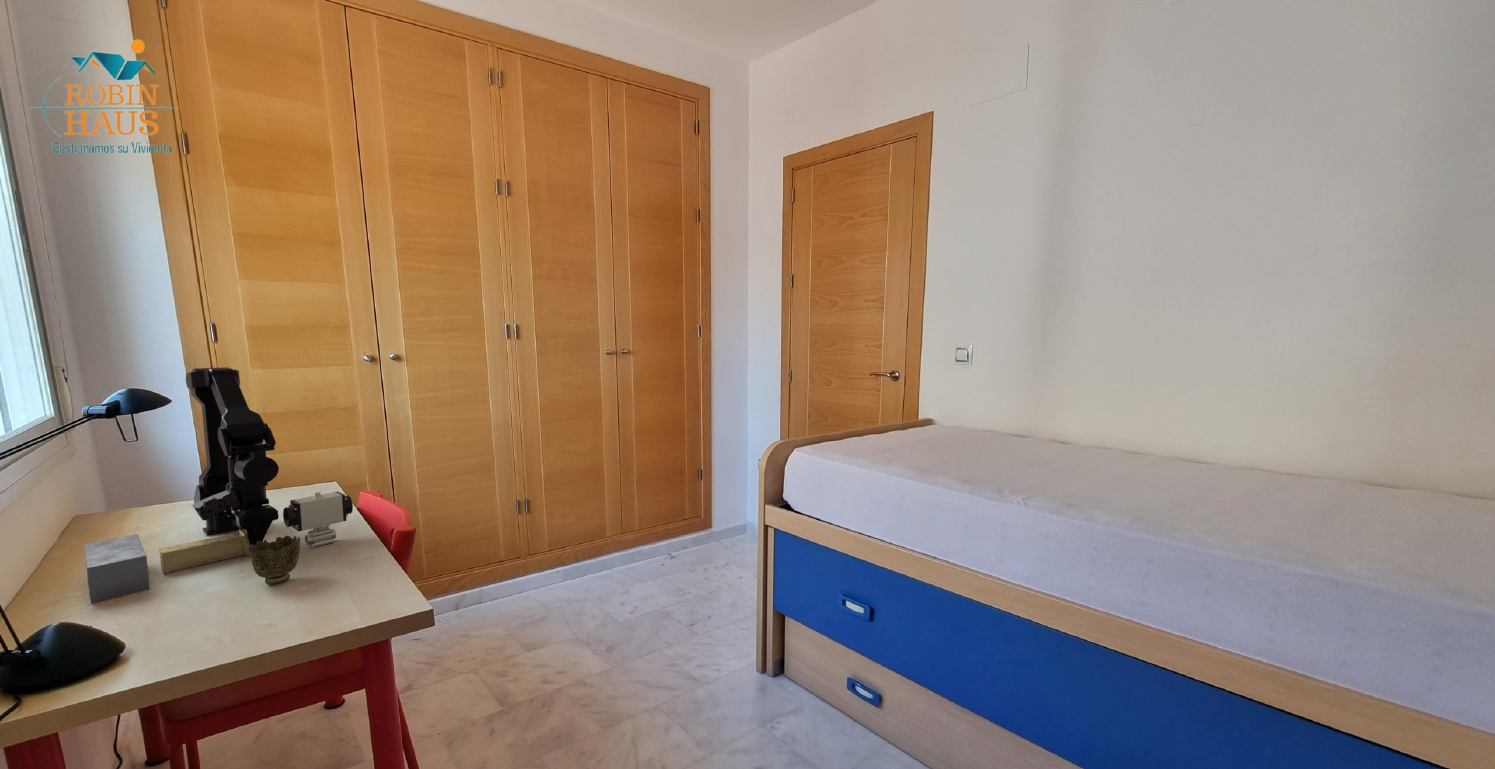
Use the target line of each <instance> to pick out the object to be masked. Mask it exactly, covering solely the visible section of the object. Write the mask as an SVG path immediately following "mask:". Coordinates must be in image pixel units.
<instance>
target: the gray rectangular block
mask: <svg viewBox="0 0 1495 769" xmlns="http://www.w3.org/2000/svg"><path fill="white" fill-rule="evenodd" d="M83 548H84V550H83V551H84V557H85V558H84V559H85V566H86V568H85V569H86V576H87V583H88V584H87V585H89V586H88V591H89V592H88V593H89V599H90V600H89V601H90V604H91V605H92V604H96V603H99V602H103V601H104V602H105V601H108V600H112V599H115V598H116V599H117V598H121V597H124V596H128V595H131V594H136V593H141V592H145V591H149V590H151V589H150V588H151V587H150V578H149V567H148V557H147V553H146V551H145V548H144V546H143V543H142V541H141V539H140V537H139V535H138V534H137V533H136V534H131V535H130V534H129V535H127V536H126V535H125V536H120V537H115V538H111V539H105V540H104V539H103V540H99V541H95V542H90V543H89V542H88V543H84V544H83Z"/></svg>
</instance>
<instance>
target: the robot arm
mask: <svg viewBox="0 0 1495 769" xmlns="http://www.w3.org/2000/svg"><path fill="white" fill-rule="evenodd" d="M185 384H186V387H187V389H189V390H190V394H191V396H192V397H193V399H195V401H196V402H198V403H199V404H200V405H201V413H202V414H201V415H202V416H201V417H202V425H203V433H204V434H203V437H204V447H205V457H206V466H205V468H204V469H202V472H201V474H199V476H198V484H197V485H196V487H195V492H194V496H193V504H191V506H192V507H193V509H194V510H195V511H196V514H197V515H198V516H199V518H200V519H201V520H202V521H205V526H206V527H202V531H203V533H204V534H205V535H206V536H211V535H212V536H213V535H217V534H221V533H227V532H232V531H237V530H239V529H241V528H243V529H245V531H246V534H247V537H248V540H249V544H250V546H251V545H252V544H253V545H254V546H255V545H256V543H257V542H258V541H261V542H262V541H263V542H264V540H265V537H266V535H267V533H268V531H269V529H270V527H271V526H272V523H273V521H274V522H275V521H278V520H279V510H278V509H276V507H274V506H272V505H270V499H269V498H268V497H267V486H269V484H268V483H270V482H271V481H273V480H274V479H275V478H276V477H277V476H278V473H279V470H280V469H279V468H280V467H279V465H278V463H277V461H276V460H274V459H273V458H271V457H269V456H267V455H266V454H267V452H271V451H275V450H276V448H275V447H276V443H277V441H276V439H275V437H274V434H273V432H272V429H271V427H269V425H268V423H265V421H264V419H263V418H262V416H261V414H260V413H258V412H256V411H253V410H251V409H250V407H249V405H248V403H247V401H246V397H245V395H244V394H243V391H242V389H241V377H240V370H237V369H235V368H230V367H228V366H226V367H225V366H224V367H197V368H196V367H194V368H192V370H191V371H190V372H186V373H185Z"/></svg>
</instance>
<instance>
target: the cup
mask: <svg viewBox="0 0 1495 769" xmlns="http://www.w3.org/2000/svg"><path fill="white" fill-rule="evenodd" d="M300 546H301V538H300V536H298V537H297V536H296V535H294V536H293V537H292V536H290V535H288V534H287V535H285V536H283V537H281V536H277V537H276V538H275V540H274V541H269V542H268V540H267V539H263V542H261V541H258V542H257V543H256V545H255V546H254V545H253V544H252V545H251V548H250V547H249V552H250V555H249V556H250V561H251V564H252V568H253V571H254V572H255V574H257V576H259V577H260V578H263V579H264V583H265V584H266V585H268V586H278V585H281V584H284V583H287V581H289V579H290V578H291V575H290V573H291V572H292V571H293V570H295V569H296V566H297V565H298V564H299V563H298V562H299V557H300V556H299V555H300V548H301V547H300Z"/></svg>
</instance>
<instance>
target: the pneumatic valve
mask: <svg viewBox="0 0 1495 769" xmlns="http://www.w3.org/2000/svg"><path fill="white" fill-rule="evenodd" d="M289 502H290V504H289V505H288V506H286V507H284V508H283V511H282V518H283V523H284V525H285V527H286V528H290V527H291V528H292V529H294V530H295V531H297V532H304V531H307V532H306V534H305V536H304V542H305V544H306V546H311V547H312V548H318V547H322V545H323V546H327V545H331V544H333V543H334V540H335V539H336V538H337V531H336V528H330V525H334V524H339V523H342V522H343V523H344V522H347V517H348V516H349V515H351V514H352V513H353V509H354V506H353V500H352V497H351V496H350V495H345V493H342V492H340V491H333V492H327V493H322V494H321V491H318V492H314V495H313V496H312V495H310V496H307V497H301V498H296V499H291V500H289ZM330 543H331V544H330ZM326 544H327V545H326Z"/></svg>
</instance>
